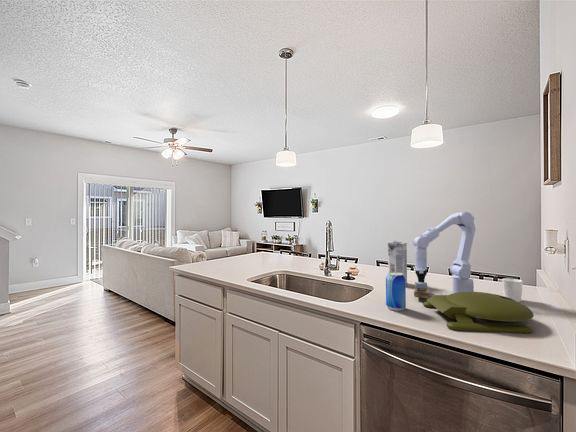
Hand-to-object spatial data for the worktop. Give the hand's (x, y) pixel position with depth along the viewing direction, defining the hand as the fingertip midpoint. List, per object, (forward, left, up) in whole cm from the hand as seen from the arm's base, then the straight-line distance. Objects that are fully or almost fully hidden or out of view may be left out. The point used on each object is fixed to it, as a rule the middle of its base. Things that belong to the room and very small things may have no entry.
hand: (421, 284), depth 149 cm
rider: (0, +3, -2) cm, 4 cm away
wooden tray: (0, +3, -5) cm, 6 cm away
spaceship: (-21, +28, -6) cm, 35 cm away
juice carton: (+13, -21, -6) cm, 25 cm away
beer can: (+11, +29, -6) cm, 32 cm away
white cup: (-41, -7, -6) cm, 42 cm away
